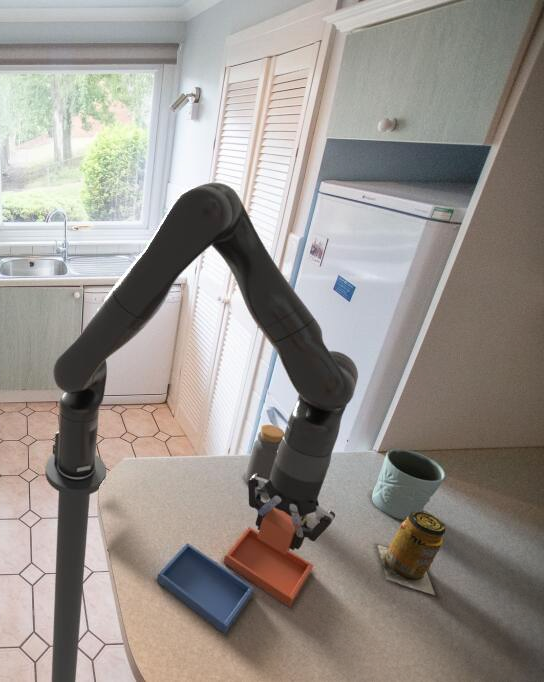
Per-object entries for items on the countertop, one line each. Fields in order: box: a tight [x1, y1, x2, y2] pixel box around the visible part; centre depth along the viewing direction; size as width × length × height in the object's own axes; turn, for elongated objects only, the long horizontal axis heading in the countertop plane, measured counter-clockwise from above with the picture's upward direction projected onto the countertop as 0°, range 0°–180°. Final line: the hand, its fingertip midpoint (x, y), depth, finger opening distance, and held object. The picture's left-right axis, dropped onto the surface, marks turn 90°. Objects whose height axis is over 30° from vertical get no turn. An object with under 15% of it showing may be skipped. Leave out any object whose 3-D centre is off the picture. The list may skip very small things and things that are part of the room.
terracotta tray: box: [223, 526, 314, 608], centre depth 86 cm, size 12×10×2 cm
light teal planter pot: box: [371, 448, 446, 521], centre depth 98 cm, size 10×10×12 cm
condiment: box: [377, 510, 447, 596], centre depth 84 cm, size 7×8×12 cm
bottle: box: [244, 424, 285, 492], centre depth 104 cm, size 6×6×15 cm
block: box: [257, 507, 295, 555], centre depth 82 cm, size 5×5×5 cm
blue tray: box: [156, 542, 255, 635], centre depth 82 cm, size 13×10×2 cm
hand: (276, 536), depth 83 cm, fingers closed on block, 5 cm apart
